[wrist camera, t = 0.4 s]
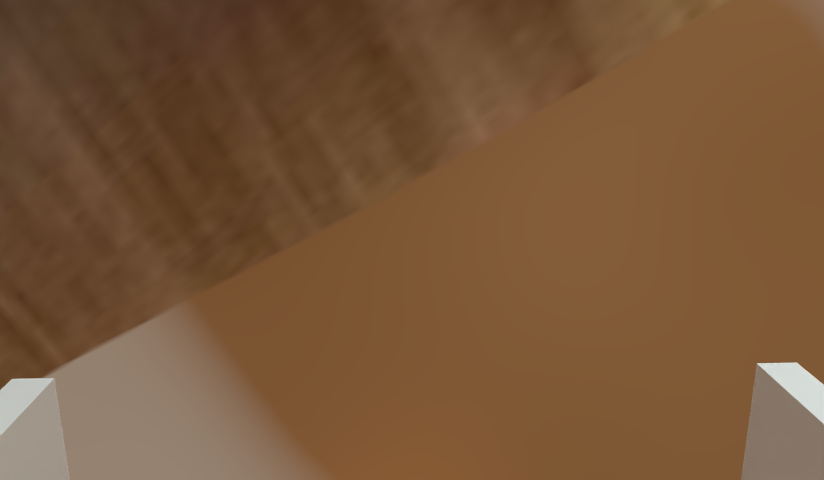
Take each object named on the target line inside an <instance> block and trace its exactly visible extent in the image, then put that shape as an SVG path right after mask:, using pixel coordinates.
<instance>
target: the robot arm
mask: <svg viewBox="0 0 824 480" xmlns="http://www.w3.org/2000/svg"><path fill="white" fill-rule="evenodd" d="M0 480H70V477H69V470H68V464H67V457H66V450H65V444H64V437H63V431H62V424H61V417H60V411H59V404H58V398H57V391H56V385H55V378H33V379H12V380H11V381H9V382H8V383H7V384H6V385H5V386H4V387H3V388H2V389H1V390H0ZM741 480H824V385H823V384H822V383H821V382H820V381H818V380H817V379H816V378H815V377H813V376H812V375H811V374H810V373H809V372H807V371H806V370H805V369H804V368H802V367H801V366H800V365H799V364H798V363H761V364H760V363H757V367H756V375H755V382H754V389H753V397H752V404H751V411H750V419H749V426H748V433H747V441H746V449H745V455H744V463H743V470H742V478H741Z"/></svg>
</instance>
